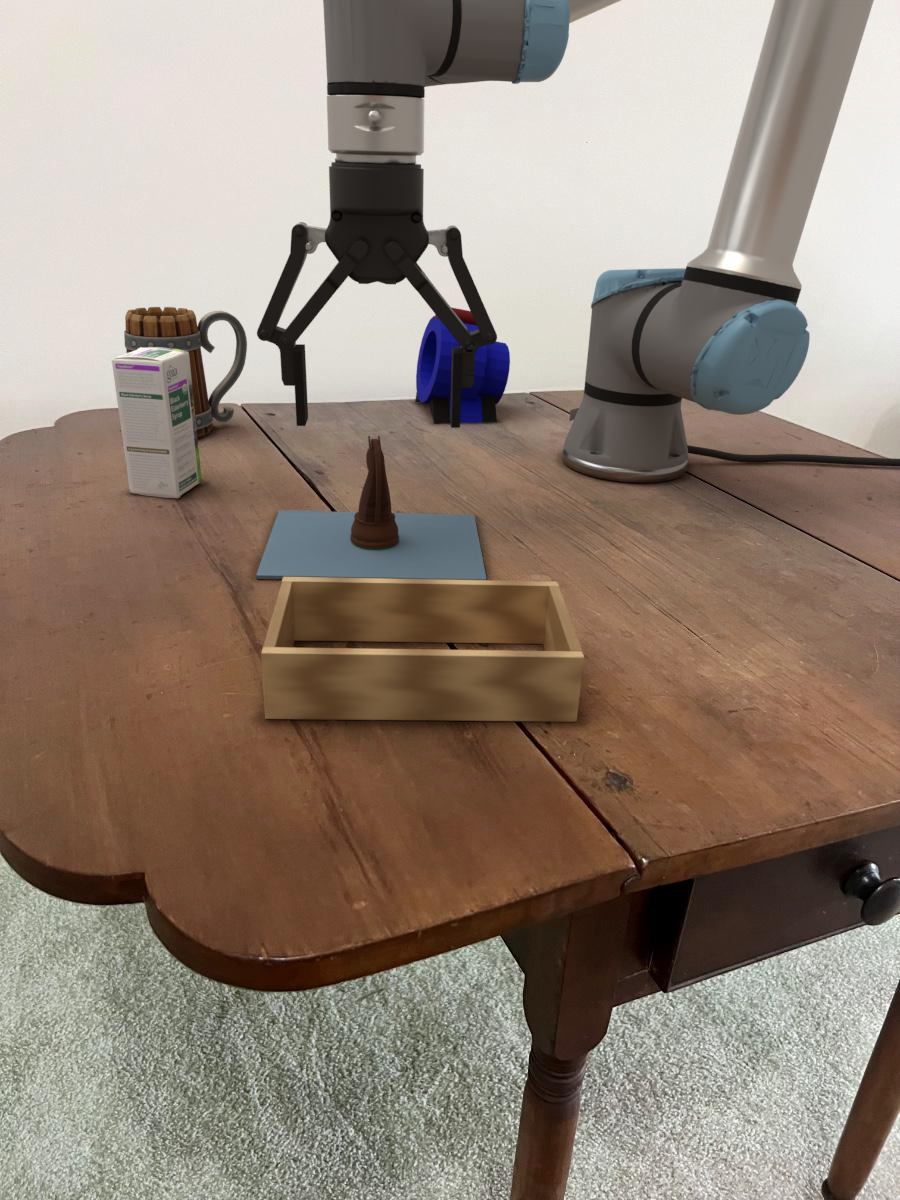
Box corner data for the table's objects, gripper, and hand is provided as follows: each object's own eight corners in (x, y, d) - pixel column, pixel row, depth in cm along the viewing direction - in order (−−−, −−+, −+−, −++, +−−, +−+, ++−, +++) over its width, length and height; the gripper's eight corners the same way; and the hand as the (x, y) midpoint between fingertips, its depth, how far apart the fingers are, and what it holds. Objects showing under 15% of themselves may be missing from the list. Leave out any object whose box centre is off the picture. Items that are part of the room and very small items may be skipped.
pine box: (551, 639, 72) (557, 581, 69) (576, 722, 61) (584, 656, 59) (285, 635, 70) (282, 576, 68) (264, 719, 60) (260, 652, 58)
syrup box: (178, 499, 96) (165, 359, 90) (127, 494, 97) (110, 354, 91) (202, 483, 101) (191, 349, 95) (153, 477, 102) (139, 344, 96)
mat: (474, 518, 95) (474, 514, 95) (486, 583, 80) (486, 579, 80) (278, 513, 94) (278, 510, 93) (256, 579, 79) (255, 575, 79)
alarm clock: (410, 402, 138) (413, 298, 131) (489, 400, 141) (495, 298, 134) (428, 423, 127) (432, 311, 121) (513, 421, 130) (521, 312, 124)
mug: (137, 446, 112) (123, 320, 106) (121, 425, 121) (108, 306, 114) (261, 435, 119) (255, 315, 112) (238, 415, 127) (232, 302, 121)
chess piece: (394, 531, 90) (396, 430, 85) (403, 551, 85) (405, 446, 81) (347, 533, 89) (346, 431, 84) (353, 553, 84) (353, 447, 80)
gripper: (207, 155, 69) (230, 432, 78) (539, 164, 70) (522, 436, 79) (225, 154, 75) (244, 410, 85) (527, 162, 77) (513, 413, 86)
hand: (379, 423), depth 82 cm, fingers open, 13 cm apart
